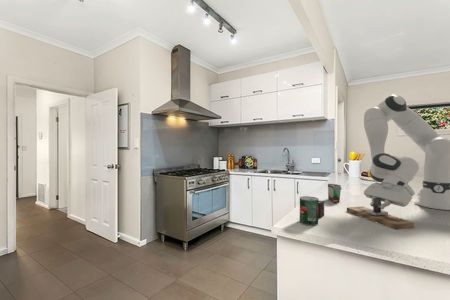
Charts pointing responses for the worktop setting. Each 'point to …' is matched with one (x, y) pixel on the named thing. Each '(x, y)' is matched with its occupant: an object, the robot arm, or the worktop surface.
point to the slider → (376, 208)
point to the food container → (334, 193)
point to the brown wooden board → (381, 218)
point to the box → (320, 209)
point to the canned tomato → (309, 210)
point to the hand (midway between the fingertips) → (376, 207)
